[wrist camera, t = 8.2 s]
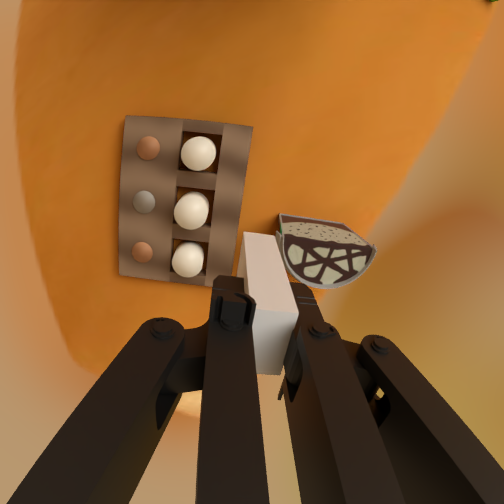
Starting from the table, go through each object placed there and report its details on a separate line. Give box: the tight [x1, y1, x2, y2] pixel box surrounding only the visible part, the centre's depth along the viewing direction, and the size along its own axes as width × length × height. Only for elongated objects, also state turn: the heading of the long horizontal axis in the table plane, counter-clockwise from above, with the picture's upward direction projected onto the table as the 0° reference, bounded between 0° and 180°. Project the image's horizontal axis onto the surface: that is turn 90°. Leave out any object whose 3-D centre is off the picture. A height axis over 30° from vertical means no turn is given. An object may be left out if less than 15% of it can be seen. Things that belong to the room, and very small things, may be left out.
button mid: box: [174, 191, 209, 230], centre depth 39 cm, size 4×4×3 cm
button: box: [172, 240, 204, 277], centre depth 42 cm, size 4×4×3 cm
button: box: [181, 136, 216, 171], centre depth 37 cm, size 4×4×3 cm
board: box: [119, 116, 253, 287], centre depth 41 cm, size 22×16×2 cm
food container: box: [275, 213, 377, 289], centre depth 40 cm, size 12×6×10 cm, turn 81°
